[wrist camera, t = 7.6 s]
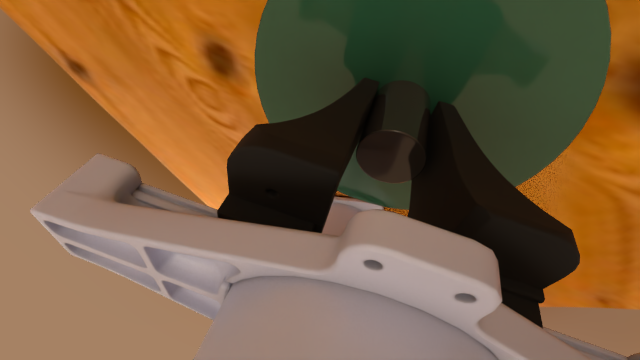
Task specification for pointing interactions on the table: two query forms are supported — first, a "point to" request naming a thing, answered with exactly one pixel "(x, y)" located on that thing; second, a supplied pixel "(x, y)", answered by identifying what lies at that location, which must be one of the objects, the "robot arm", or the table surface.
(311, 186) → the robot arm
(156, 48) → the table surface
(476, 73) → the lid
